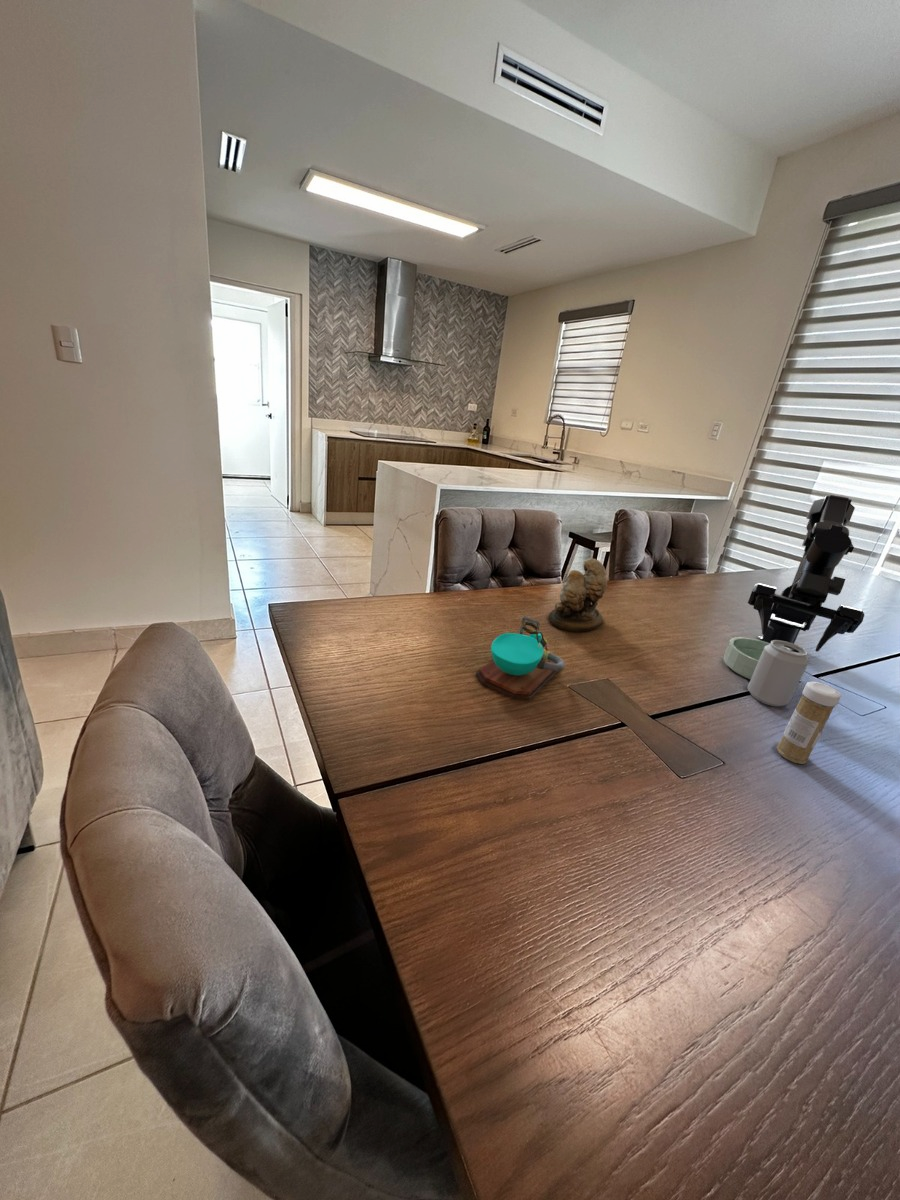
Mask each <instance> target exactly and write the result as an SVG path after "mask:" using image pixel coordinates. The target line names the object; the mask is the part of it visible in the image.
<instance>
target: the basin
mask: <svg viewBox="0 0 900 1200" xmlns="http://www.w3.org/2000/svg"><path fill="white" fill-rule="evenodd" d="M769 644H770V643H768V642H764V641H761V640H760V639H758V638H751V637H745V636H744V637H743V636H741V637H740V636H738V637H737V636H736V637H732V638H731V639H729V641H728V644H727V647H726V648H725V652H724V655H723V659H722V660H723V662H724V664H725V665H726V666H727V667H728V668H730V669H731V670H732V671H733V672H735V673H736V674H738V675H739V676H741V677H744V678H746V679H748V680H749V681H750V680H751V678H752V676H753V673H754V671H755V668H756V666H757V664H758V661H759V659H760V657H761V654H762V652H763V650H764V647H765V646H767V645H769Z"/></svg>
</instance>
